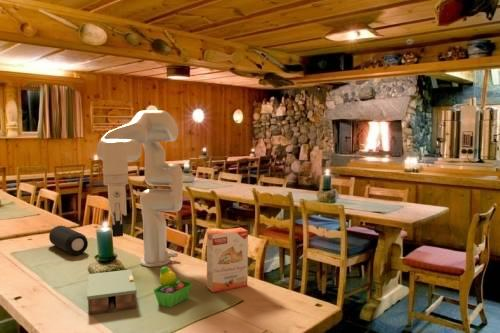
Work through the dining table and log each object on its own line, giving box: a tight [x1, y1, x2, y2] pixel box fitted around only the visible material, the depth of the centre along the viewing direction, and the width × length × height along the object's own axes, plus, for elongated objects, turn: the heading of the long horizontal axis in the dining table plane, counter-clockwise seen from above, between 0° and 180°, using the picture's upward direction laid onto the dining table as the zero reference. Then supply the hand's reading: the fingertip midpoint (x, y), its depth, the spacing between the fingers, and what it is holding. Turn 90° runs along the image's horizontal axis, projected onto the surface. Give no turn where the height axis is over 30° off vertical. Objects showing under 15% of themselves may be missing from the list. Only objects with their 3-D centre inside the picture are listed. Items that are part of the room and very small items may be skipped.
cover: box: [86, 269, 137, 301], centre depth 141 cm, size 15×21×2 cm
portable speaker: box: [48, 225, 89, 256], centre depth 198 cm, size 26×10×10 cm, turn 44°
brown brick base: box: [87, 292, 137, 316], centre depth 141 cm, size 14×20×5 cm
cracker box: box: [206, 227, 249, 293], centre depth 151 cm, size 14×6×21 cm, turn 117°
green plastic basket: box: [153, 266, 193, 308], centre depth 140 cm, size 11×9×11 cm
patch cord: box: [109, 296, 115, 310], centre depth 140 cm, size 1×20×1 cm, turn 20°
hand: (117, 235), depth 136 cm, fingers closed
